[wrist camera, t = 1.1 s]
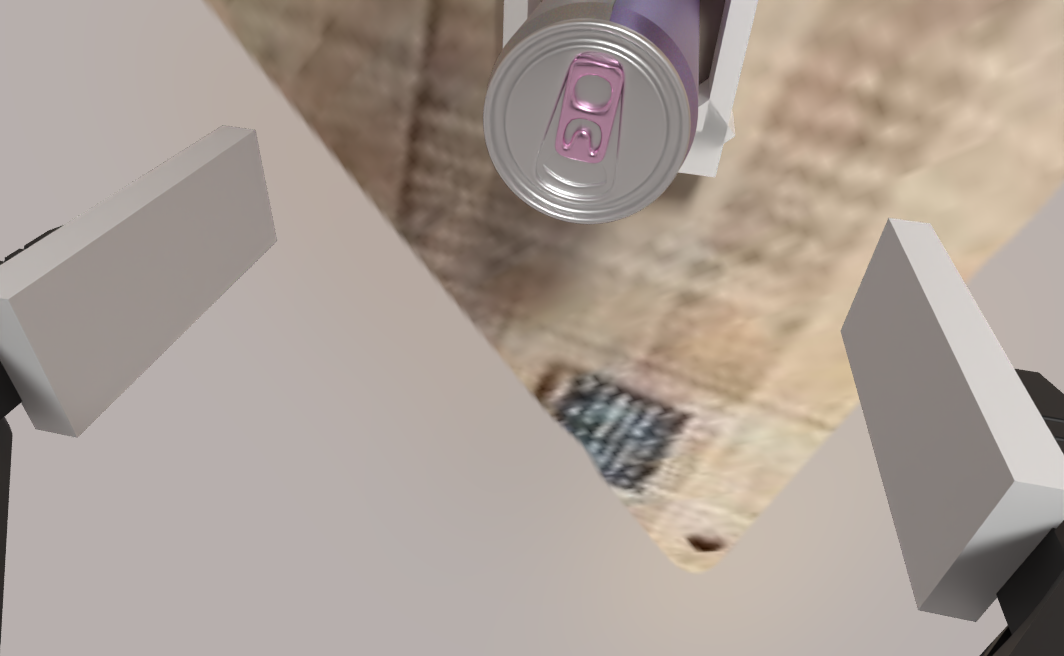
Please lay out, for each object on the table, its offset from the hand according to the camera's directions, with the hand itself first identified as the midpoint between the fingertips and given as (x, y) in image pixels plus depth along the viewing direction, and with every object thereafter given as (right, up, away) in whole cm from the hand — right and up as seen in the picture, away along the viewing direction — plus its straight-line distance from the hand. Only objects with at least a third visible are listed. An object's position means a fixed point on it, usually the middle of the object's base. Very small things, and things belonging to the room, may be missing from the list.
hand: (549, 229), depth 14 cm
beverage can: (+4, +12, +16) cm, 20 cm away
